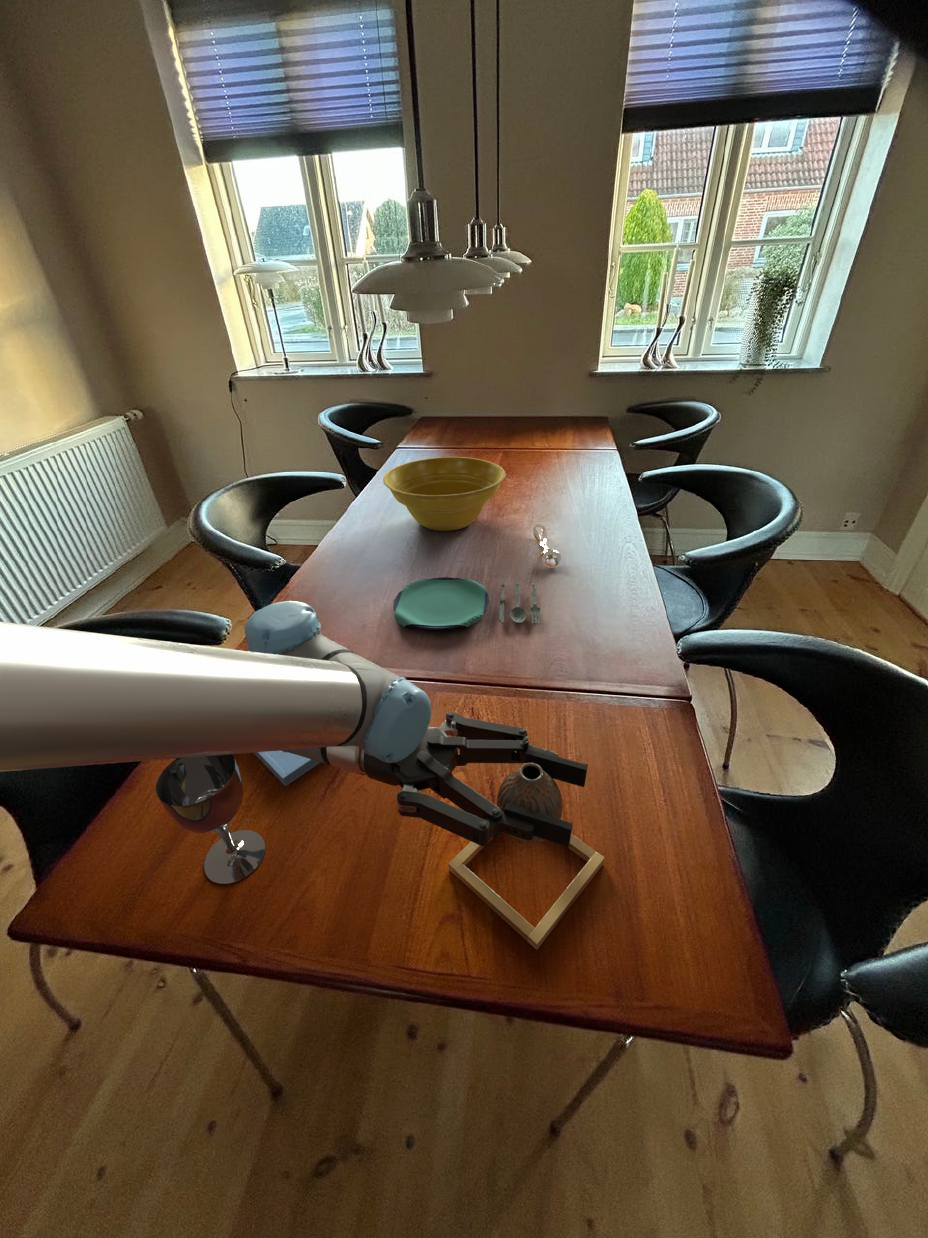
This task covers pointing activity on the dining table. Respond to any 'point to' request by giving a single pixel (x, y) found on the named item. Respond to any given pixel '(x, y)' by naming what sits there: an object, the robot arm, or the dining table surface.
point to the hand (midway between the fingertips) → (578, 804)
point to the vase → (531, 793)
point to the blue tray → (286, 765)
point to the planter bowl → (445, 489)
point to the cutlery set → (451, 604)
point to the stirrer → (546, 548)
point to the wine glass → (212, 812)
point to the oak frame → (506, 911)
